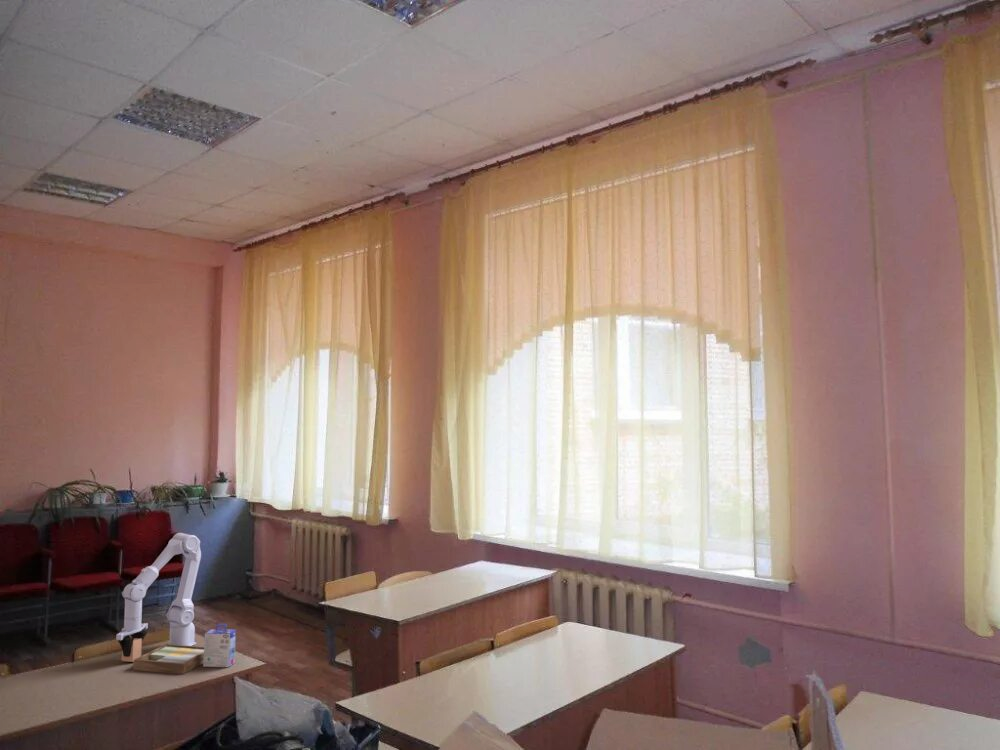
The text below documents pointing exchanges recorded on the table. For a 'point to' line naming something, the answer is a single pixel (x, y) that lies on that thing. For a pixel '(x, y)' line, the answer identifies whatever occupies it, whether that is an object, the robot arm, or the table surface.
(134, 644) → the terracotta block
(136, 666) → the puzzle tray
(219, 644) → the ink cartridge box
